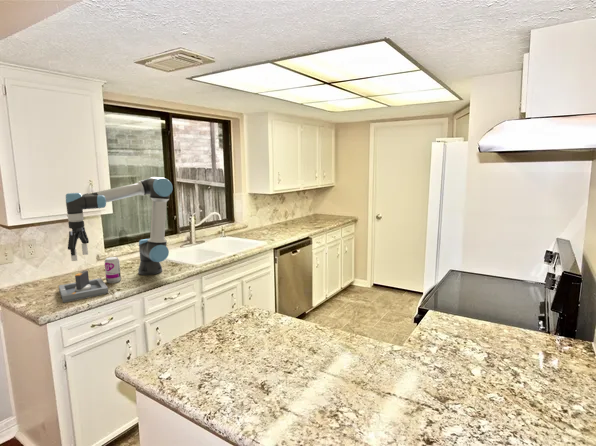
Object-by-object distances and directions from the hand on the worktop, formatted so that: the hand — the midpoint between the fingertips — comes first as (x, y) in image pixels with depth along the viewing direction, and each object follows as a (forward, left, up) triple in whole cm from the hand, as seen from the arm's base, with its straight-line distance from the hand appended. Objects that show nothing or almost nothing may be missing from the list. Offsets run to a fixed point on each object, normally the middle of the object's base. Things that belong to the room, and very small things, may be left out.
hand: (80, 257), depth 208 cm
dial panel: (0, 0, -21) cm, 21 cm away
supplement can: (-18, -11, -21) cm, 30 cm away
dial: (0, 0, -19) cm, 19 cm away
